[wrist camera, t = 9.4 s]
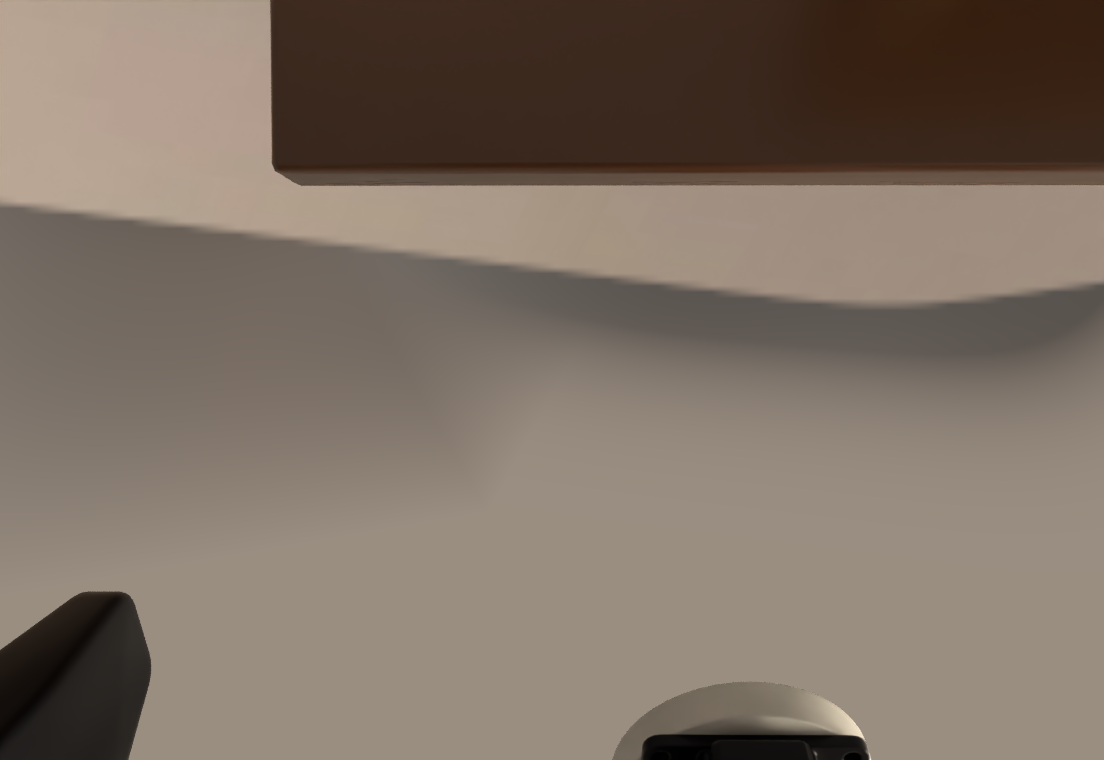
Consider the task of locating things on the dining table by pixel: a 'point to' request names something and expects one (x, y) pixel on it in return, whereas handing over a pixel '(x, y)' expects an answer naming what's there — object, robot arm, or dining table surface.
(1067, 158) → the lid
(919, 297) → the dining table surface
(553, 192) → the dining table surface
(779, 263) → the dining table surface
